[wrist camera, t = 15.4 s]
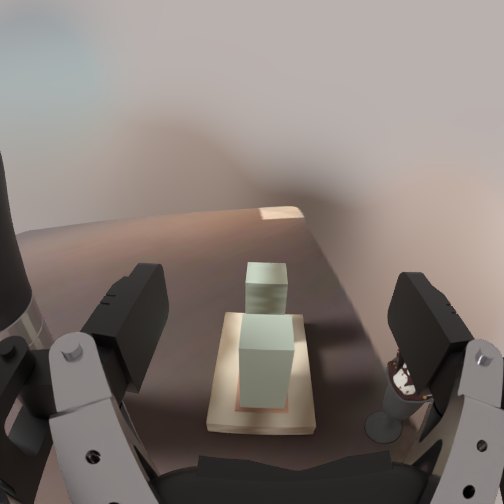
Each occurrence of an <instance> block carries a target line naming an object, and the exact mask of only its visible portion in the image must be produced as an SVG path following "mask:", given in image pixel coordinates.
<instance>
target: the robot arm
mask: <svg viewBox="0 0 504 504" xmlns="http://www.w3.org/2000/svg"><path fill="white" fill-rule="evenodd" d="M168 313H169V302H168V296H167V290H166V284H165V278H164V271H163V267H162V265H161V264H153V263H138V264H137V266H136V267H135V268H134V270H133V271H132V273H131V274H130V275H129V277H125V276H124V277H123V278H122V279H120V280H119V281H117V282H116V283H114V284H113V285H112V286H111V288H110V289H109V291H108V292H107V293H106V296H104V298H103V299H102V300H101V302H100V304H99V305H98V306H97V307H96V309H95V310H94V312H93V313H92V315H91V316H90V318H89V319H88V321H87V322H86V324H85V325H84V326H83V328H82V329H81V331H80V332H73V333H69V334H66V335H64V336H62V337H60V338H59V339H58V340H56V341H54V339H53V337H52V335H51V333H50V331H49V329H48V327H47V324H46V322H45V320H44V318H43V316H42V313H41V311H40V309H39V306H38V304H37V302H36V299H35V297H34V294H33V292H32V289H31V286H30V284H29V281H28V278H27V275H26V272H25V269H24V265H23V261H22V258H21V254H20V251H19V247H18V244H17V240H16V236H15V232H14V228H13V223H12V219H11V213H10V207H9V201H8V194H7V186H6V180H5V172H4V166H3V161H2V156H1V153H0V504H34V500H35V497H36V493H37V490H38V486H39V483H40V480H41V477H42V474H43V471H44V467H45V464H46V462H47V459H48V456H49V453H50V450H51V447H52V445H53V443H54V447H55V451H56V455H57V459H58V463H59V466H60V470H61V473H62V477H63V480H64V483H65V486H66V489H67V492H68V495H69V498H70V501H71V503H72V504H494V502H495V499H496V496H497V492H498V488H499V487H500V491H501V496H502V500H503V504H504V357H502V355H501V353H500V351H499V350H498V349H497V348H496V347H495V346H494V345H493V344H492V343H490V342H488V341H486V340H482V339H474V338H473V336H472V334H471V333H470V331H469V330H468V328H467V327H466V325H465V324H464V322H463V321H462V319H461V318H460V316H459V315H458V314H456V311H455V309H454V308H453V306H451V304H450V302H449V301H448V300H447V298H446V297H445V295H444V294H443V293H441V292H440V291H439V290H437V289H436V288H435V287H433V286H432V285H431V283H430V282H429V281H428V279H427V278H426V277H425V275H424V274H423V273H421V272H402V273H401V274H400V275H399V277H398V280H397V283H396V286H395V290H394V293H393V296H392V300H391V303H390V306H389V309H388V324H389V327H390V329H391V331H392V334H393V336H394V338H395V341H396V343H397V345H398V348H399V350H400V352H401V355H402V357H403V359H404V362H405V364H406V367H407V369H408V372H409V374H410V377H411V379H412V382H413V384H414V387H415V390H416V392H417V395H418V397H421V396H426V395H432V397H433V400H432V401H431V402H430V404H429V406H428V409H427V411H426V415H425V417H424V420H423V422H422V425H421V427H420V430H419V432H418V434H417V437H416V439H415V442H414V444H413V446H412V448H411V450H410V452H409V453H408V455H407V456H406V457H405V459H404V460H403V461H402V463H400V462H394V461H391V458H390V454H389V450H388V451H383V452H377V453H371V454H364V455H357V456H349V457H345V458H342V459H339V460H336V461H333V462H330V463H327V464H323V465H320V466H317V467H313V468H310V469H306V470H302V471H294V470H288V469H284V468H279V467H274V466H270V465H266V464H262V463H258V462H254V461H250V460H240V459H226V458H215V457H206V456H199V461H198V466H195V467H187V468H182V469H178V470H174V471H171V472H168V473H165V474H163V475H160V474H159V472H158V470H157V468H156V467H155V465H154V463H153V462H152V460H151V459H150V457H149V455H148V453H147V452H146V450H145V448H144V446H143V444H142V442H141V440H140V438H139V436H138V434H137V431H136V429H135V427H134V425H133V423H132V420H131V418H130V416H129V414H128V411H127V409H126V407H125V404H124V402H123V400H122V399H123V397H124V394H125V392H126V391H128V392H133V393H139V391H140V388H141V385H142V382H143V380H144V377H145V374H146V372H147V369H148V367H149V364H150V361H151V359H152V356H153V354H154V351H155V349H156V346H157V344H158V341H159V339H160V336H161V334H162V331H163V329H164V326H165V324H166V321H167V318H168ZM14 403H15V404H16V405H17V407H18V408H19V409H20V411H19V414H18V416H17V418H16V420H15V422H14V424H13V426H12V429H11V431H10V433H9V435H8V437H7V435H6V433H5V429H4V425H5V421H6V418H7V416H8V414H9V412H10V410H11V408H12V406H13V404H14Z"/></svg>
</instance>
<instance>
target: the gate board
mask: <svg viewBox="0 0 504 504" xmlns="http://www.w3.org/2000/svg"><path fill="white" fill-rule="evenodd" d="M287 287H288V282H287V272H286V263H256V262H248V267H247V276H246V313H230V312H226V314H225V319H224V325H223V330H222V336H221V341H220V347H219V352H218V358H217V363H216V369H215V375H214V380H213V386H212V392H211V398H210V403H209V409H208V415H207V421H206V425H207V429H208V431H213V432H224V433H238V434H259V435H304V434H313V433H314V430H315V428H316V421H315V412H314V402H313V393H312V385H311V376H310V368H309V360H308V352H307V344H306V337H305V329H304V322H303V315H292V325H293V336H294V348H295V352H294V358H293V364H292V370H291V375H290V381H289V387H288V392H287V398H286V403H285V408H249V407H240V387H239V340H240V332H241V323H242V314H265V315H285V307H286V297H287Z"/></svg>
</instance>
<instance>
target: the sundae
mask: <svg viewBox="0 0 504 504" xmlns="http://www.w3.org/2000/svg"><path fill="white" fill-rule="evenodd" d="M387 365H388V366H387V369H386V375H387V379H388V386H387V389H386V391H385V394H384V398H383V403H382V407H383V411H378V412H375V413H373V414H371V415H370V416H369V417H368V419H367V421H366V424H365V429H366V432H367V434H368V436H369V437H370V438H371V439H372V440H374V441H376V442H378V443H390V442H393V441H395V440H396V439H397V438H398V437H399V436H400V434H401V431H402V425H401V422H400V420H404V419H407V418H408V417H410V416H411V415H412V414H414V413H415V412H416V411H417V410H418V409H419V408H420V407H421V406H422V405H423V404H424V403H425V402H430V401H432V400H433V397H432V395H426V396H421V397H418V395H417V392H416V390H415V387H414V384H413V382H412V379H411V377H410V374H409V372H408V369H407V367H406V364H405V362H404V359H403V357H402V355H401V352H400V350H399V349H398V351H397V357H396V358H394V359H393V360H392V361H390V362H388V364H387Z"/></svg>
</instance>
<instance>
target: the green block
mask: <svg viewBox="0 0 504 504" xmlns="http://www.w3.org/2000/svg"><path fill="white" fill-rule="evenodd" d="M294 352H295V348H294V336H293V325H292V315H265V314H242V323H241V332H240V340H239V387H240V407H249V408H285V403H286V398H287V392H288V387H289V381H290V375H291V370H292V364H293V358H294Z"/></svg>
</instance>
